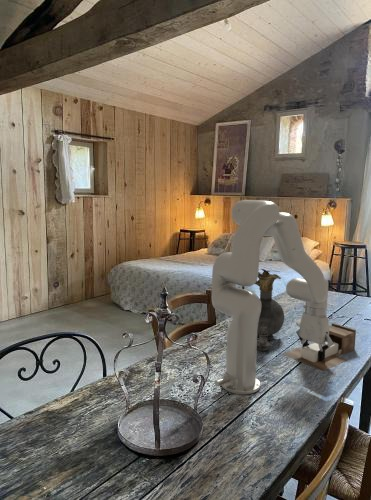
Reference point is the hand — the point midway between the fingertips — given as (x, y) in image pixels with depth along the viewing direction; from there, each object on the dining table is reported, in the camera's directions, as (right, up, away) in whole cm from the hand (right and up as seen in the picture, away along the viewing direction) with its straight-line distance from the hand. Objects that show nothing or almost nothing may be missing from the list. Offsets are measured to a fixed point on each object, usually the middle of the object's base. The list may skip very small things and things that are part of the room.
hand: (313, 356), depth 151 cm
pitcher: (-15, +2, +24) cm, 28 cm away
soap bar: (+3, 0, +2) cm, 4 cm away
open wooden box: (+5, -1, +4) cm, 7 cm away
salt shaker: (-17, 0, +7) cm, 19 cm away
